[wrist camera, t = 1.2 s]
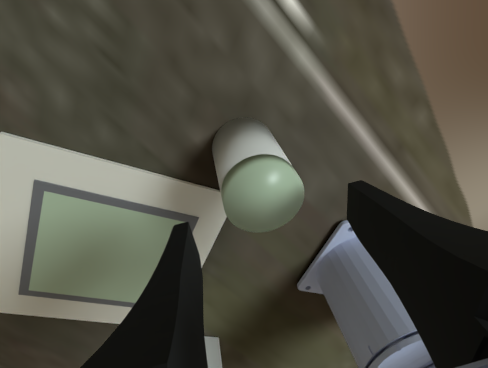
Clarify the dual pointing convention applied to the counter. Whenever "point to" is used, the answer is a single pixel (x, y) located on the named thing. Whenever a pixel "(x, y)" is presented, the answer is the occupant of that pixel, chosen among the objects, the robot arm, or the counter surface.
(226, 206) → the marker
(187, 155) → the counter surface
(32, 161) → the picture board
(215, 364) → the button housing
